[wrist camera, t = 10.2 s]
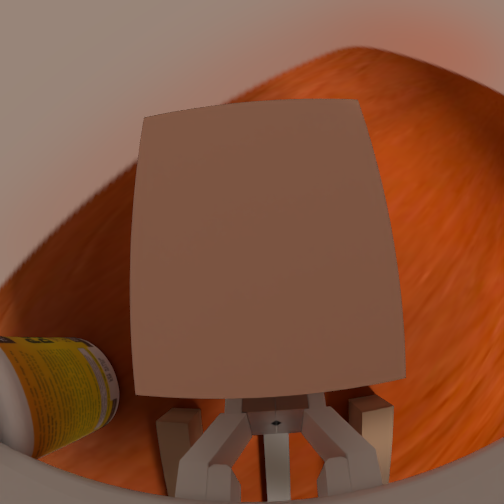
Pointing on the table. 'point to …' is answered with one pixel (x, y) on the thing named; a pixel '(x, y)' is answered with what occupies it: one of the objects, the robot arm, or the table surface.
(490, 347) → the table surface
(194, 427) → the track
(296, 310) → the block
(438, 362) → the table surface
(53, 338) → the supplement bottle
